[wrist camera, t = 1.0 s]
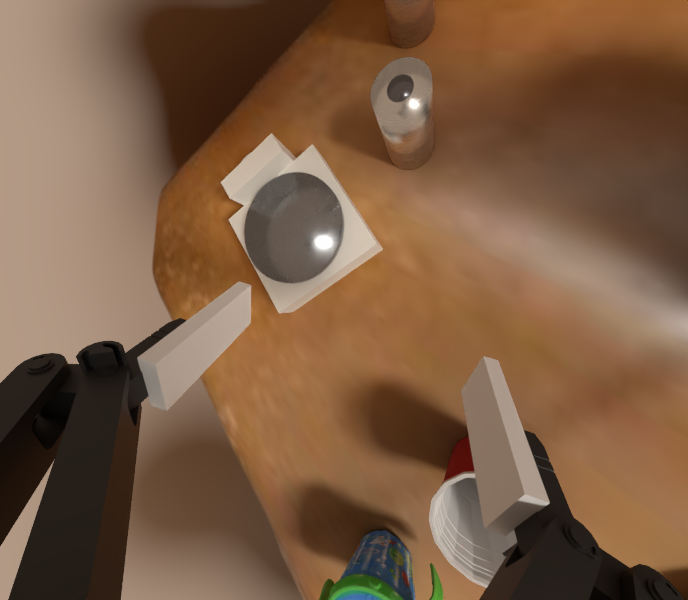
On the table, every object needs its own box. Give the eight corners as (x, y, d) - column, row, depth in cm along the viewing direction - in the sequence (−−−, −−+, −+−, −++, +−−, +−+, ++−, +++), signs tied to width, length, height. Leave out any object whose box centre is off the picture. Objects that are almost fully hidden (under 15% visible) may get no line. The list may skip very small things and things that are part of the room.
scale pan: (308, 152, 37) (305, 148, 36) (365, 241, 35) (363, 239, 34) (233, 219, 41) (228, 218, 40) (278, 303, 39) (274, 303, 38)
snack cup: (428, 511, 36) (424, 586, 27) (455, 595, 35) (462, 705, 26) (326, 519, 41) (292, 586, 32) (347, 593, 40) (318, 686, 31)
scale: (312, 140, 42) (289, 111, 35) (383, 249, 38) (371, 238, 32) (236, 209, 47) (203, 194, 40) (292, 312, 43) (266, 314, 37)
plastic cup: (420, 475, 37) (411, 553, 25) (447, 402, 36) (451, 449, 24) (507, 521, 33) (542, 634, 22) (540, 442, 32) (595, 519, 21)
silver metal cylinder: (418, 115, 37) (409, 42, 26) (443, 149, 36) (445, 86, 25) (380, 146, 39) (359, 89, 28) (403, 179, 38) (390, 132, 27)
